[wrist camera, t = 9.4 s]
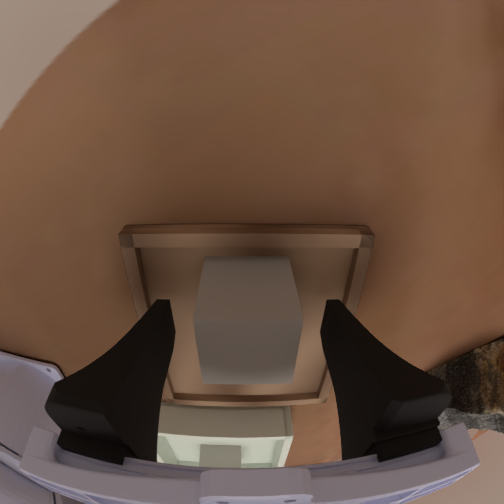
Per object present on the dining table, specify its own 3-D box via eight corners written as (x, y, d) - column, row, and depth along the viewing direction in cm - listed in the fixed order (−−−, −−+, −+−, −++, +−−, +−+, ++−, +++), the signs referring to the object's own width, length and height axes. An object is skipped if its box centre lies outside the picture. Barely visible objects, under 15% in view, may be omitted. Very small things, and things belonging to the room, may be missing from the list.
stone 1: (204, 457, 27) (202, 492, 23) (200, 444, 25) (197, 483, 21) (241, 458, 27) (241, 493, 23) (241, 445, 25) (241, 484, 21)
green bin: (173, 458, 29) (171, 479, 26) (142, 399, 22) (136, 429, 19) (276, 461, 29) (277, 483, 26) (289, 404, 22) (293, 435, 19)
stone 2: (210, 318, 16) (203, 383, 13) (205, 256, 15) (192, 319, 11) (282, 318, 17) (291, 383, 13) (288, 256, 15) (303, 319, 11)
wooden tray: (168, 392, 21) (166, 403, 20) (125, 225, 14) (118, 234, 13) (323, 392, 21) (325, 402, 20) (367, 226, 14) (375, 235, 13)
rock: (525, 319, 20) (566, 388, 11) (499, 389, 24) (521, 453, 15) (403, 348, 24) (421, 439, 15) (394, 414, 28) (400, 489, 19)
